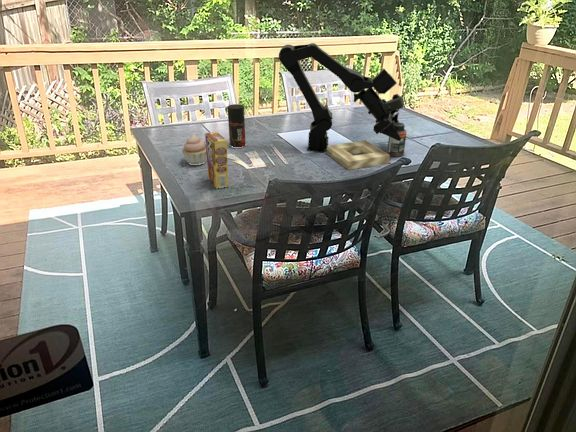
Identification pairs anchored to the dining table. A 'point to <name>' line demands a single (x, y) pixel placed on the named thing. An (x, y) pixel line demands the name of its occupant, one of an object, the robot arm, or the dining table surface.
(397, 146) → the supplement bottle
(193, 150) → the cupcake
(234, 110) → the deodorant
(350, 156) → the socket block
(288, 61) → the robot arm
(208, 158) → the candy box
